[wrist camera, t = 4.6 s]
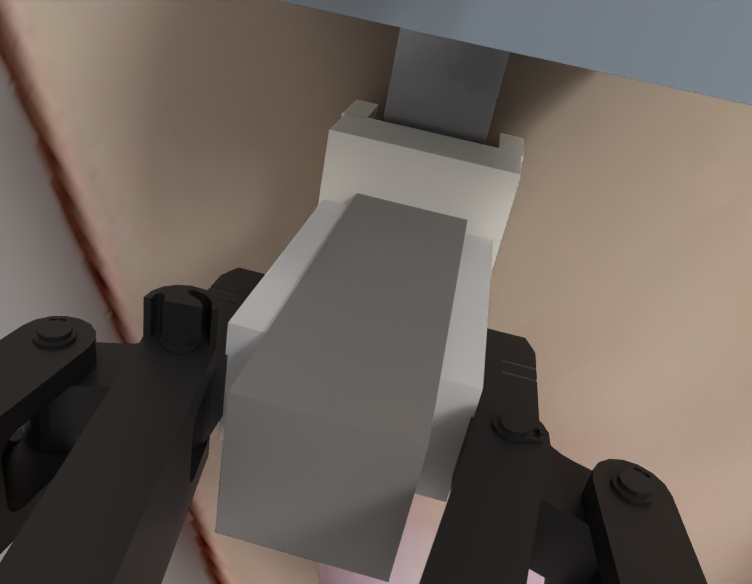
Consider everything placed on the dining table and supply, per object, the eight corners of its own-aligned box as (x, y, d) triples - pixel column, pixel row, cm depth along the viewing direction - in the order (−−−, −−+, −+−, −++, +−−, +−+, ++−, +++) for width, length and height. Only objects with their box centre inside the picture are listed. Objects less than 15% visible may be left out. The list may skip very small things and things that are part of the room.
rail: (413, 3, 19) (403, 8, 17) (515, 25, 19) (514, 32, 17) (348, 341, 25) (335, 370, 23) (425, 360, 25) (418, 392, 23)
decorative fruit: (356, 534, 30) (289, 777, 21) (346, 385, 26) (261, 606, 17) (570, 561, 28) (596, 838, 19) (594, 406, 24) (639, 663, 15)
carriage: (356, 99, 20) (158, 284, 9) (523, 137, 20) (536, 383, 8) (328, 270, 23) (152, 572, 12) (473, 306, 23) (433, 655, 11)
